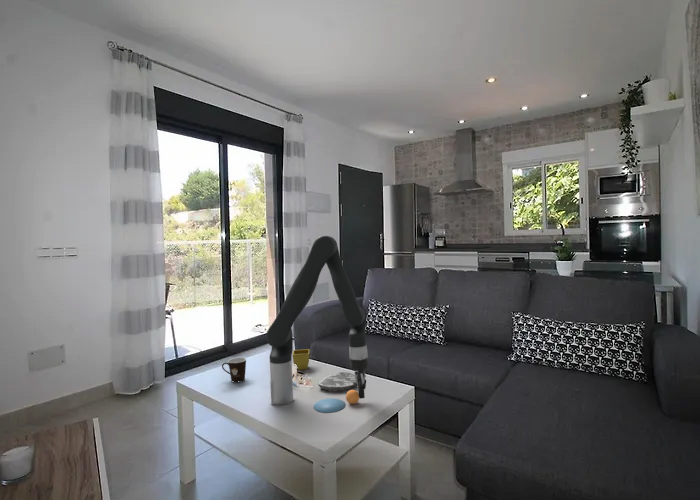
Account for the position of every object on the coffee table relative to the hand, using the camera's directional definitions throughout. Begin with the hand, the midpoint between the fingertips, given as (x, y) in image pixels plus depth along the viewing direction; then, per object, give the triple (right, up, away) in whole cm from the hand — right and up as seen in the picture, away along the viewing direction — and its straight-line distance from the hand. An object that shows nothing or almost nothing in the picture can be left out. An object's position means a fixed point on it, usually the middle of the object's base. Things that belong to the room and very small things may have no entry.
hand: (361, 397), depth 157 cm
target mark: (-13, -3, -2) cm, 14 cm away
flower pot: (-31, -2, +46) cm, 55 cm away
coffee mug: (-62, -4, +32) cm, 70 cm away
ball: (-4, +1, -1) cm, 4 cm away
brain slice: (-9, -2, +20) cm, 22 cm away
